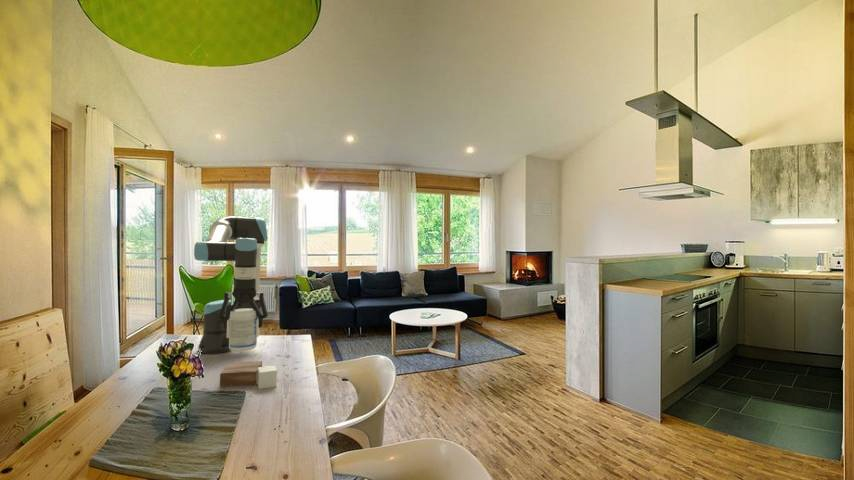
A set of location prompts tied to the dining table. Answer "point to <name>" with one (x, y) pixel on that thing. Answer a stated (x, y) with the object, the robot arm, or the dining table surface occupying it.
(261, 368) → the cream cube
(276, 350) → the dining table surface
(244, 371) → the walnut block
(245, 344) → the supplement tub
